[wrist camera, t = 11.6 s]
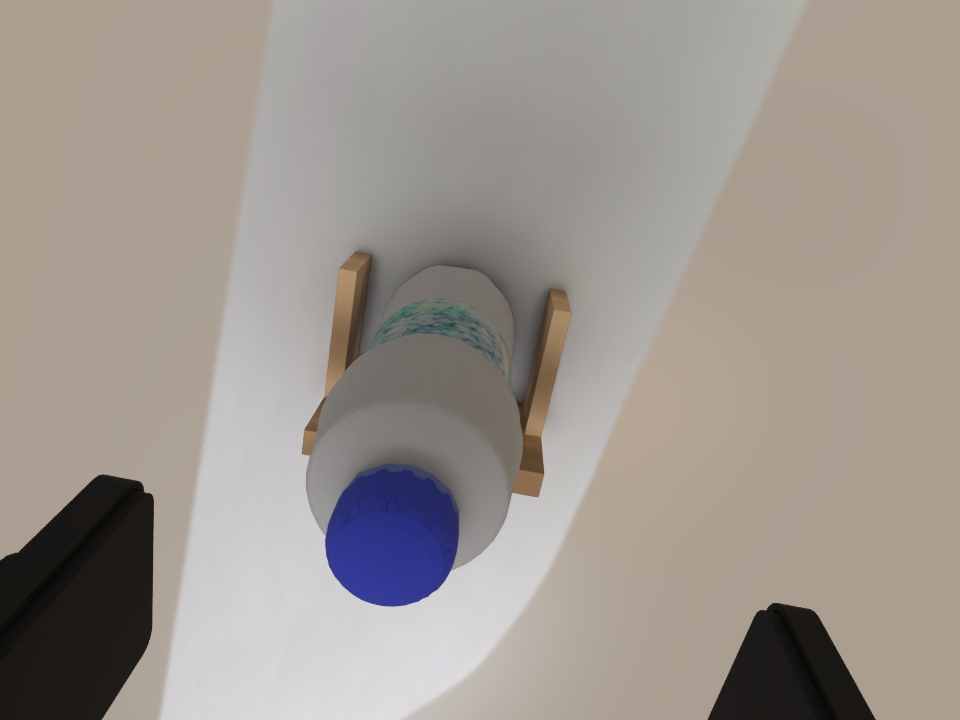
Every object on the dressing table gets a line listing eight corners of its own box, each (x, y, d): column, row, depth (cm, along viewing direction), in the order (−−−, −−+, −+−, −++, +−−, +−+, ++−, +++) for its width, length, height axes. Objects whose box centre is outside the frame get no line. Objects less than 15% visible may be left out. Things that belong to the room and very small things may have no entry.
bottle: (409, 390, 37) (306, 696, 18) (369, 271, 35) (204, 481, 16) (532, 361, 36) (555, 651, 17) (499, 236, 34) (485, 416, 15)
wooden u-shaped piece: (355, 251, 34) (319, 289, 28) (565, 292, 35) (578, 338, 28) (338, 390, 37) (301, 454, 31) (533, 426, 37) (538, 497, 31)
